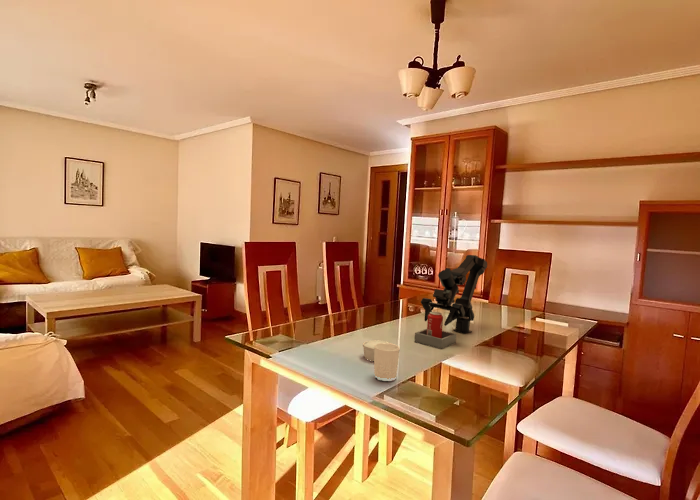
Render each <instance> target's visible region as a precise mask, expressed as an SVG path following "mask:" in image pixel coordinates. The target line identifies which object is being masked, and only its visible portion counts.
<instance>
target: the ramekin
mask: <svg viewBox="0 0 700 500" xmlns="http://www.w3.org/2000/svg"><path fill="white" fill-rule="evenodd" d="M378 343H390V344H393V343H391V342H390V341H386V340H378V339H376V340H367V341H364V342H363V343H362V347H363V355H364V358H365V360H367V359H368V360H371V361H374V346H375V345H376V344H378ZM368 360H367V361H368ZM371 361H370V362H371Z"/></svg>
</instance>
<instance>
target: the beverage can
mask: <svg viewBox="0 0 700 500" xmlns="http://www.w3.org/2000/svg"><path fill="white" fill-rule="evenodd" d="M426 322H427V323H426V329H427V335H429V336H433V337H437V338H441V339H442V331H443V325H444V317H443V315H442V312H439V311H432V312H430V314H429V315H428V320H427V321H426Z"/></svg>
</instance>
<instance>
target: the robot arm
mask: <svg viewBox="0 0 700 500" xmlns="http://www.w3.org/2000/svg"><path fill="white" fill-rule="evenodd" d="M487 268H488V262H487V260H486V259H485V258H482V257H479V256H478V255H475V254H467V255H466V256H465V259H464V260H462V262H461V263H460V264H459V266H458V267H456V268H453V269H451V268H450V267H446V268H445V269H443V270H441V271H439V273H438V274H437V276H438V278H439V282H440V283H441V286H442V287H443V290H442V289H437V288H435V289H434V292H433V295H432V297H433V298H435V302H433V300H432V298H426V297H423V298H421V301H420V303H421V305H422V308H423V310H424V322H427V321H428V315H429V314H430V312H433V310H434V309H440V310H445V311H449V313H448V315H447V317H446V318H445V321H444V322H443V325H444V326H445V327H446V326H448V325H449V324H451V323H453V321H455V320H456V321H455V328H454V329H452V330H453V331H455V332H458V333H461V334H469V333H470V334H471V333H472V332H473V330H470V326H471V322H472V321H473V322H474V320H475V313H474V311H473V305H472V299H473V296H474V294H475V290H476V286H477V283H478V281H479V278H480V277H481V276H482V275H483V274H484V273H485V271H486V269H487ZM468 273H469V274H468ZM467 275H468V276H467ZM463 285H464V288H463V291H462V294H461V296H460V297H457V298H456V295H457V294H459V293H460V290H459V286H463ZM455 298H456V299H455Z"/></svg>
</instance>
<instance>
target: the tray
mask: <svg viewBox="0 0 700 500" xmlns="http://www.w3.org/2000/svg"><path fill="white" fill-rule="evenodd" d="M456 341H457V334H456V333H453V332H449V331H444V330H442V339H441V338H437V337H433V336H429V335H427V328H425V329H423V330H419V331H416V332H414V343H416V344H421V345H424V346H429V347H432V348H435V349H439V350H443V349H446V348H448V347H451V346H452V345H455V344H457V343H456Z"/></svg>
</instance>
